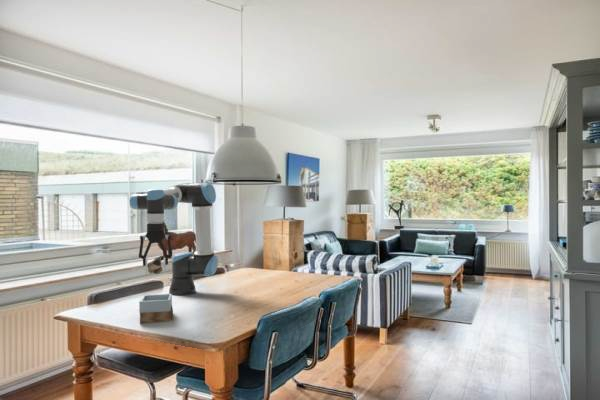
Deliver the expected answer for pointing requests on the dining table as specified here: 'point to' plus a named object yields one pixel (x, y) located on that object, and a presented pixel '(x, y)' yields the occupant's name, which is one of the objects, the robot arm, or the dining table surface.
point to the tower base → (156, 316)
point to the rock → (155, 265)
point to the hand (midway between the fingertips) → (155, 272)
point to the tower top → (155, 303)
